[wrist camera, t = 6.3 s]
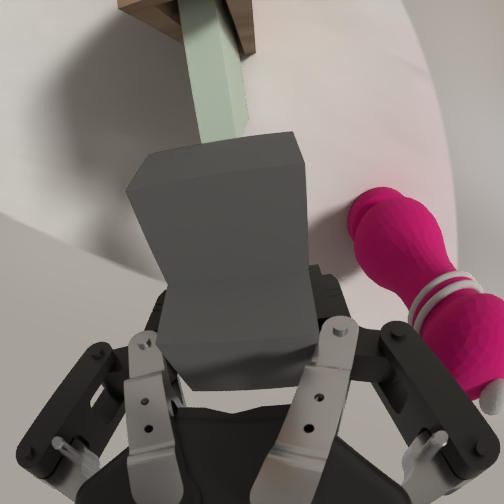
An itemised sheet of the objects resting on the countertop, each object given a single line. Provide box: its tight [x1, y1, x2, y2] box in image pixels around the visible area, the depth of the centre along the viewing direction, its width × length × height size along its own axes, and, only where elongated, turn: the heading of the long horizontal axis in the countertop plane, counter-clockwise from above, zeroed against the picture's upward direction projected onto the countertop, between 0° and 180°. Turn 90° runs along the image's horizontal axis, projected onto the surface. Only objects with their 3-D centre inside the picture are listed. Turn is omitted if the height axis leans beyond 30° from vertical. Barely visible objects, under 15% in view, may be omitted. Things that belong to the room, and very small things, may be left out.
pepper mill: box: [348, 187, 504, 415], centre depth 17 cm, size 7×7×20 cm
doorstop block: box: [126, 131, 320, 391], centre depth 10 cm, size 8×5×5 cm, turn 9°
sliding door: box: [178, 0, 249, 144], centre depth 12 cm, size 12×1×12 cm, turn 8°
